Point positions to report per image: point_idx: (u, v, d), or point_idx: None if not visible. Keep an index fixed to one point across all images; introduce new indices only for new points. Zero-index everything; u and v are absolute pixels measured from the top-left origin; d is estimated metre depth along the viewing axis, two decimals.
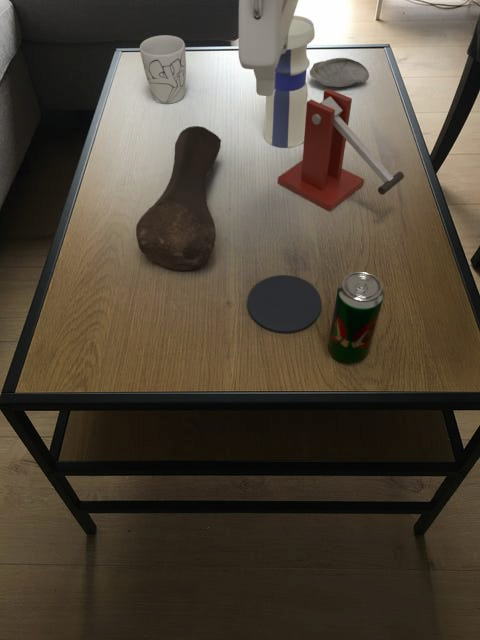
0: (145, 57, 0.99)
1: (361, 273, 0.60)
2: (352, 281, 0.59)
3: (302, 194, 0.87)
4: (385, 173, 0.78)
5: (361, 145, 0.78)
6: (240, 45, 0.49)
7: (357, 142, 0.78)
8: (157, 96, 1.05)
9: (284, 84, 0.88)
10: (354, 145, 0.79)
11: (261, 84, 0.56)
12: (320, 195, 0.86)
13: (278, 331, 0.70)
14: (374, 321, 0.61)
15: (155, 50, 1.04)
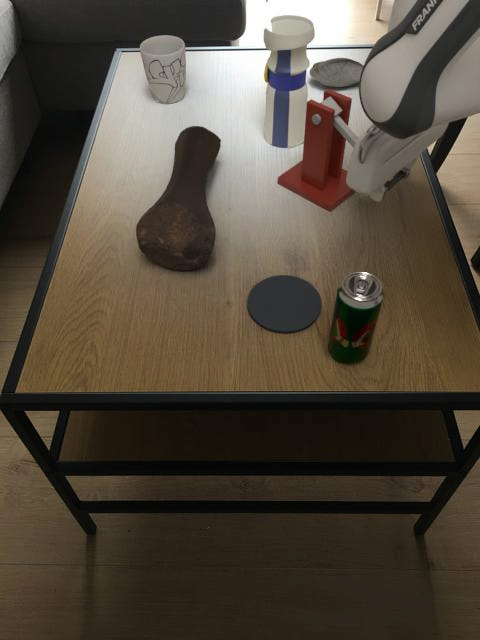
0: (145, 57, 0.99)
1: (361, 273, 0.60)
2: (352, 281, 0.59)
3: (302, 194, 0.87)
4: None
5: None
6: (347, 174, 0.70)
7: None
8: (157, 96, 1.05)
9: (284, 84, 0.88)
10: (354, 145, 0.79)
11: (374, 192, 0.77)
12: (320, 195, 0.86)
13: (278, 331, 0.70)
14: (374, 321, 0.61)
15: (155, 50, 1.04)
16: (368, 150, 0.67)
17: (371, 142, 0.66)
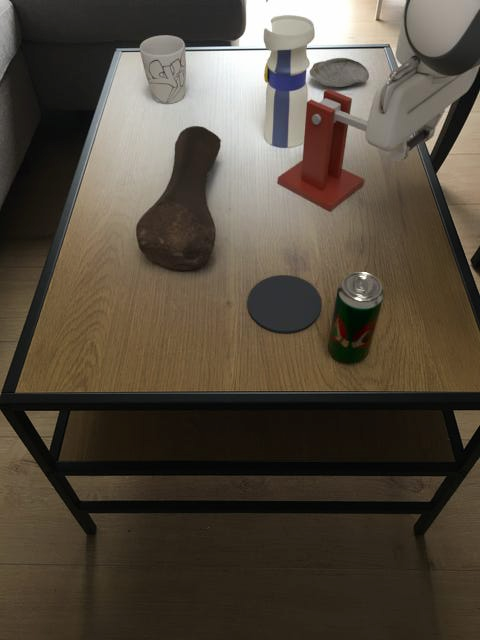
0: (145, 57, 0.99)
1: (361, 273, 0.60)
2: (352, 281, 0.59)
3: (302, 194, 0.87)
4: None
5: None
6: (367, 127, 0.64)
7: (363, 122, 0.76)
8: (157, 96, 1.05)
9: (284, 84, 0.88)
10: (362, 126, 0.76)
11: (395, 152, 0.70)
12: (320, 195, 0.86)
13: (278, 331, 0.70)
14: (374, 321, 0.61)
15: (155, 50, 1.04)
16: (390, 97, 0.60)
17: (394, 88, 0.60)
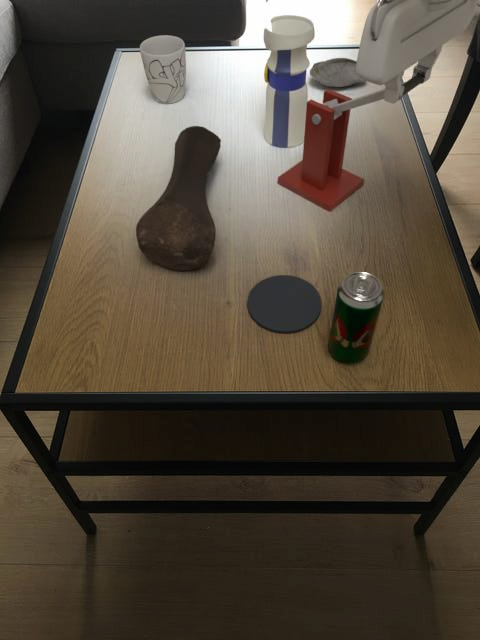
0: (145, 57, 0.99)
1: (361, 273, 0.60)
2: (352, 281, 0.59)
3: (302, 194, 0.87)
4: None
5: (364, 96, 0.73)
6: (358, 58, 0.59)
7: (359, 98, 0.74)
8: (157, 96, 1.05)
9: (284, 84, 0.88)
10: (358, 102, 0.74)
11: (388, 91, 0.66)
12: (320, 195, 0.86)
13: (278, 331, 0.70)
14: (374, 321, 0.61)
15: (155, 50, 1.04)
16: (382, 22, 0.56)
17: (386, 11, 0.55)
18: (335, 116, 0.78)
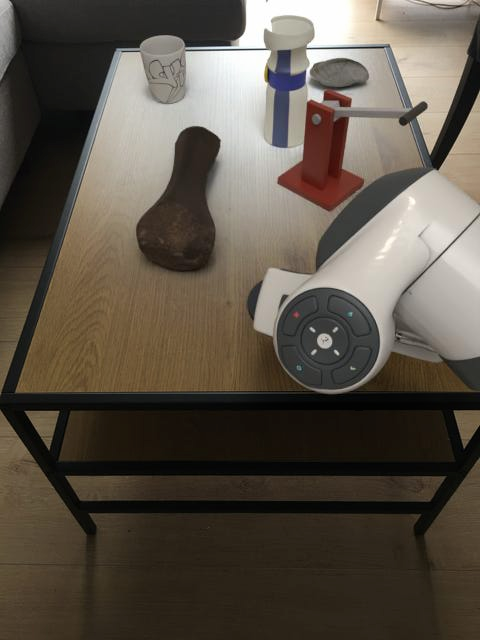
0: (145, 57, 0.99)
1: None
2: None
3: (302, 194, 0.87)
4: (401, 110, 0.70)
5: (367, 108, 0.74)
6: None
7: (362, 109, 0.74)
8: (157, 96, 1.05)
9: (284, 84, 0.88)
10: (361, 113, 0.74)
11: None
12: (320, 195, 0.86)
13: None
14: None
15: (155, 50, 1.04)
16: None
17: None
18: (334, 118, 0.79)
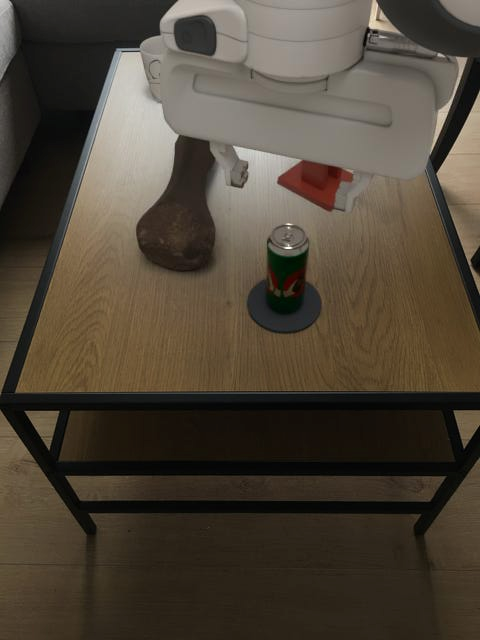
0: (145, 57, 0.99)
1: (289, 225, 0.64)
2: (279, 231, 0.64)
3: (302, 194, 0.87)
4: None
5: None
6: (427, 154, 0.36)
7: None
8: (157, 96, 1.05)
9: None
10: None
11: (354, 199, 0.43)
12: (320, 195, 0.86)
13: (278, 331, 0.70)
14: (302, 270, 0.65)
15: (155, 50, 1.04)
16: None
17: None
18: None
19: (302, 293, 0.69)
